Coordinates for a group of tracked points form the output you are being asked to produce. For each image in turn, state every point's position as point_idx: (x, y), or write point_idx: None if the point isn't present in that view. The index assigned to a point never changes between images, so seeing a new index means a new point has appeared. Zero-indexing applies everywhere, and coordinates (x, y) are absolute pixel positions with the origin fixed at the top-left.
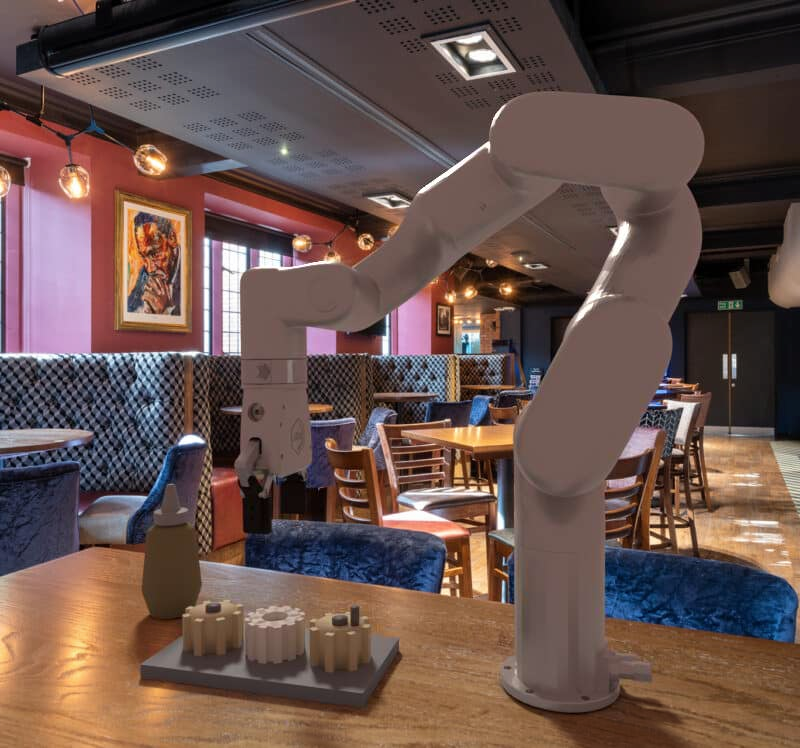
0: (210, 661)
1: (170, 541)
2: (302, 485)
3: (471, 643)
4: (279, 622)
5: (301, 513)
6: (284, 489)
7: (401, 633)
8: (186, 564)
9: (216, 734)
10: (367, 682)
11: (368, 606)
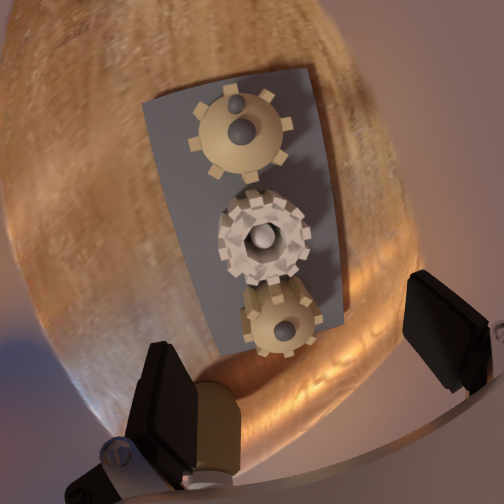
0: (315, 274)
1: (230, 454)
2: (157, 423)
3: (93, 51)
4: (283, 221)
5: (172, 346)
6: (190, 445)
7: (99, 136)
8: (212, 424)
9: (395, 182)
10: (282, 72)
11: (57, 230)
